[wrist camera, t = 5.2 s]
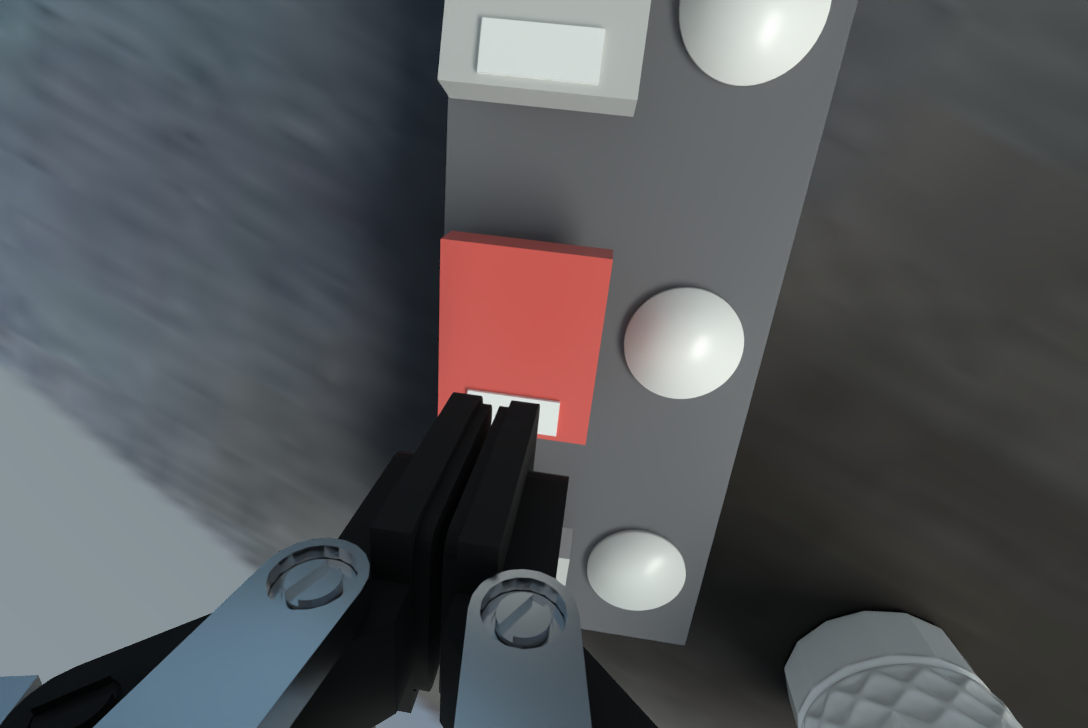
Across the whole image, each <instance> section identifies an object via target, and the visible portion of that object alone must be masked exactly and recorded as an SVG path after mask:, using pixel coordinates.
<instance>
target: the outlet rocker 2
mask: <svg viewBox="0 0 1088 728" xmlns="http://www.w3.org/2000/svg"><path fill="white" fill-rule="evenodd" d="M612 263H613V250H612V249H603V248H595V247H586V246H578V245H569V244H561V243H553V242H544V241H536V240H527V239H519V238H510V237H502V236H494V235H485V234H477V233H468V232H460V231H451V232H449V233H448V234H446V235H445V236H444V237H442V238H441V239H440V307H439V375H438V416H439V414H440V412H441V411H442V409H443V407H444V406H445V404H446V403H447V401H448V399H449V398H450V396H451V394H452V393H453V392H458V393H465V394H472V395H479V396H482V397H483V404H490V405H492V422H491V425H492V423H493V420H494V418H495V415H496V413H497V411H498V408H499V406H504V407H509V405H510V402H511V401H512V400H514V401H522V402H529V403H536V404H540V412H539V422H538V432H537V438H539V439H546V440H553V441H560V442H567V443H574V444H581V445H586V438H587V432H588V425H589V418H590V411H591V405H592V398H593V391H594V384H595V378H596V371H597V364H598V357H599V351H600V344H601V337H602V330H603V324H604V317H605V310H606V304H607V297H608V290H609V283H610V277H611V270H612Z"/></svg>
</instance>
